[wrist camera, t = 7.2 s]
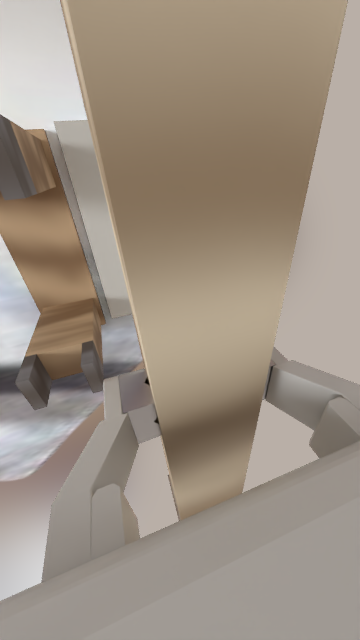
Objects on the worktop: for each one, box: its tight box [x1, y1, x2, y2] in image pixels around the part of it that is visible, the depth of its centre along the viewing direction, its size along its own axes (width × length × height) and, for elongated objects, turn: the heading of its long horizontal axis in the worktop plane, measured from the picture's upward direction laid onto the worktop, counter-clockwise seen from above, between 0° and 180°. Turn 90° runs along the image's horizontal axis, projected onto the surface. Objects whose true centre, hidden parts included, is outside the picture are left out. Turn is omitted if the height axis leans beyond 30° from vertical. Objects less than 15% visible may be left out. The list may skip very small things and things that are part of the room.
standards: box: [0, 115, 106, 410], centre depth 20 cm, size 21×7×13 cm, turn 4°
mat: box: [54, 120, 132, 319], centre depth 27 cm, size 21×8×1 cm, turn 4°
